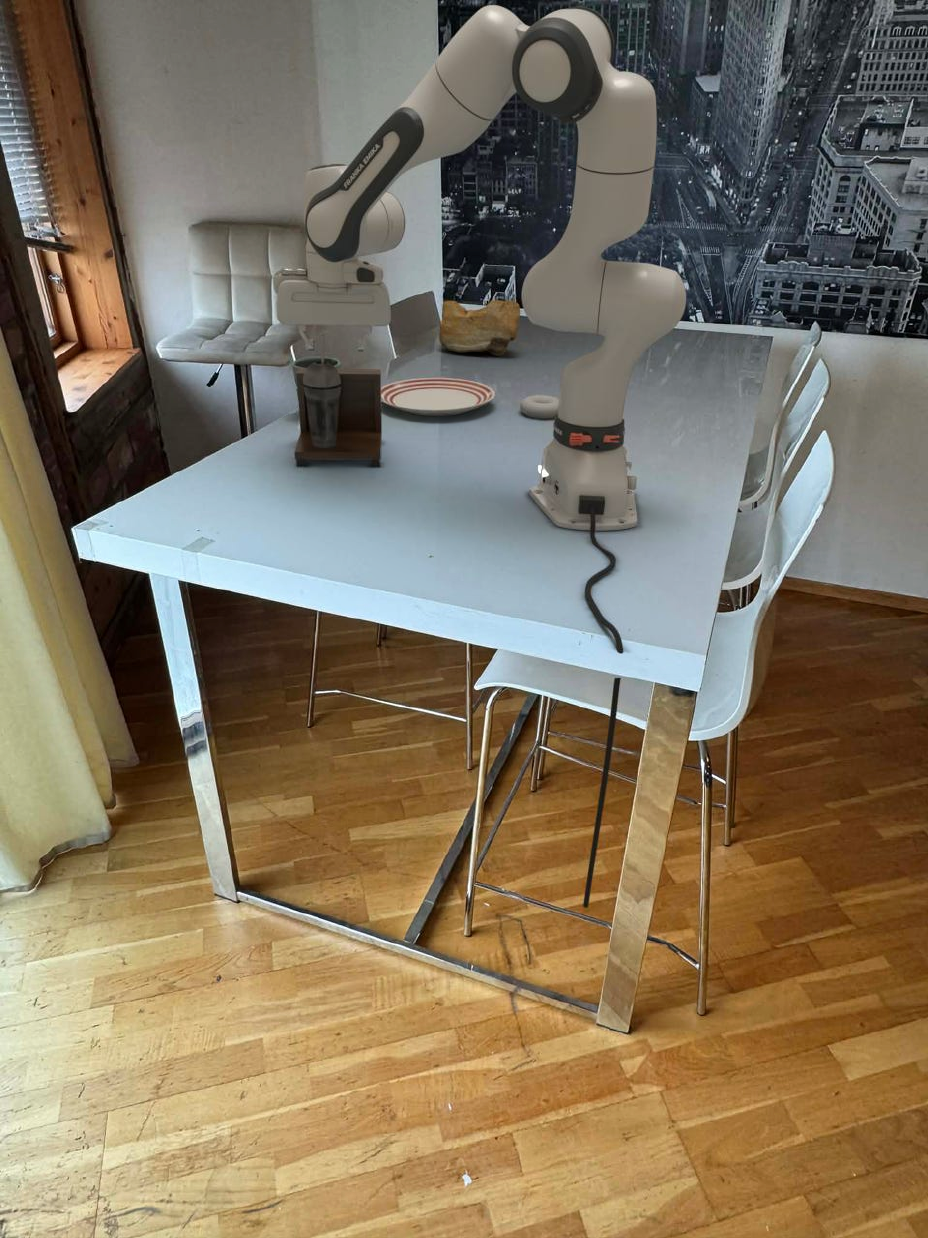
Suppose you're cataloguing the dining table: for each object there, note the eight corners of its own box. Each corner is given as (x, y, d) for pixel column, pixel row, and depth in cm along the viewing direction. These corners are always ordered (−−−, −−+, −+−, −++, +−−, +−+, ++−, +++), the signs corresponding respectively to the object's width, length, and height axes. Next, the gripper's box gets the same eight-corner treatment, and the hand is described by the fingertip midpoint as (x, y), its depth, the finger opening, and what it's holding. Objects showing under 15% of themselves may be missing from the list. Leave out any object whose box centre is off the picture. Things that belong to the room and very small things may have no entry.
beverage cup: (298, 447, 160) (292, 338, 149) (315, 435, 166) (310, 330, 155) (333, 452, 158) (330, 342, 148) (349, 440, 164) (347, 334, 154)
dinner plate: (359, 416, 188) (359, 401, 186) (396, 384, 211) (396, 371, 209) (480, 428, 182) (480, 413, 181) (504, 395, 205) (505, 381, 204)
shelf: (380, 467, 160) (379, 389, 153) (295, 466, 159) (289, 389, 152) (382, 441, 173) (380, 369, 166) (303, 441, 172) (298, 368, 165)
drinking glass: (351, 415, 188) (349, 360, 182) (323, 427, 180) (319, 370, 174) (315, 407, 192) (312, 354, 186) (286, 418, 184) (281, 363, 178)
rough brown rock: (529, 352, 249) (532, 298, 242) (513, 359, 234) (516, 302, 228) (455, 346, 255) (456, 293, 249) (435, 353, 241) (436, 297, 235)
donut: (516, 418, 190) (561, 422, 188) (517, 403, 188) (562, 406, 186) (522, 406, 198) (565, 409, 196) (523, 391, 196) (566, 394, 195)
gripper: (269, 270, 144) (276, 353, 151) (390, 273, 145) (391, 355, 152) (274, 265, 149) (280, 345, 156) (390, 267, 151) (391, 347, 158)
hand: (336, 350), depth 154 cm, fingers open, 8 cm apart
